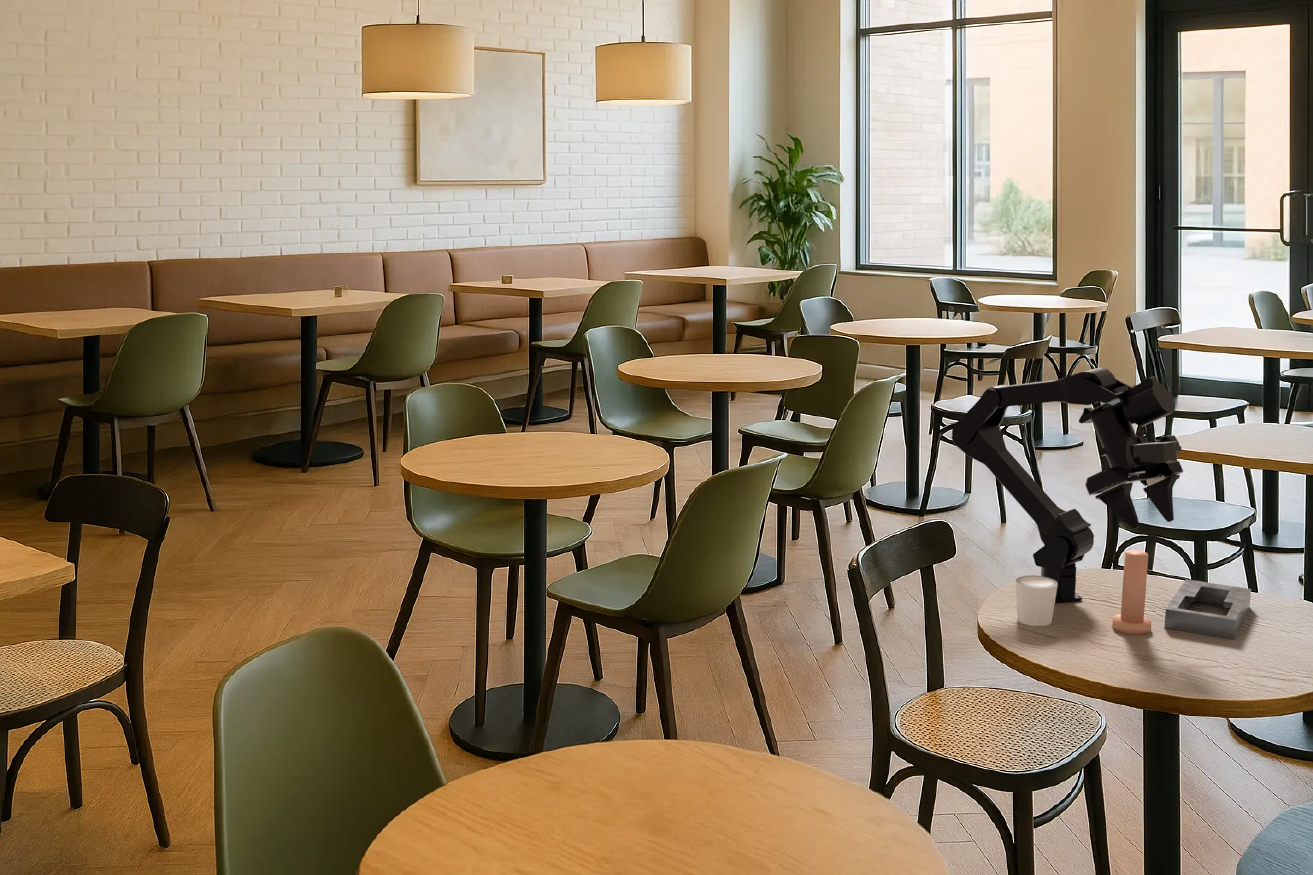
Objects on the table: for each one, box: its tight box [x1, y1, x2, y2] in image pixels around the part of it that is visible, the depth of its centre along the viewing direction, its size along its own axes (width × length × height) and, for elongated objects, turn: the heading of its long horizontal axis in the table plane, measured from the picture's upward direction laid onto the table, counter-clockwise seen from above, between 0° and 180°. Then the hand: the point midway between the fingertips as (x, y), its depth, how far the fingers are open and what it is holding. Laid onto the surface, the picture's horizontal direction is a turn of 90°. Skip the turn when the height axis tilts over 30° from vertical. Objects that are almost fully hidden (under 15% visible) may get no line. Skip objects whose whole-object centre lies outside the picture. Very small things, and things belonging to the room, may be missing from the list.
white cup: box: [1015, 575, 1058, 627], centre depth 208 cm, size 7×7×7 cm
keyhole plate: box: [1164, 579, 1252, 640], centre depth 209 cm, size 18×11×3 cm, turn 147°
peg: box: [1111, 549, 1152, 636], centre depth 203 cm, size 6×6×13 cm
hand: (1154, 524), depth 203 cm, fingers open, 9 cm apart
